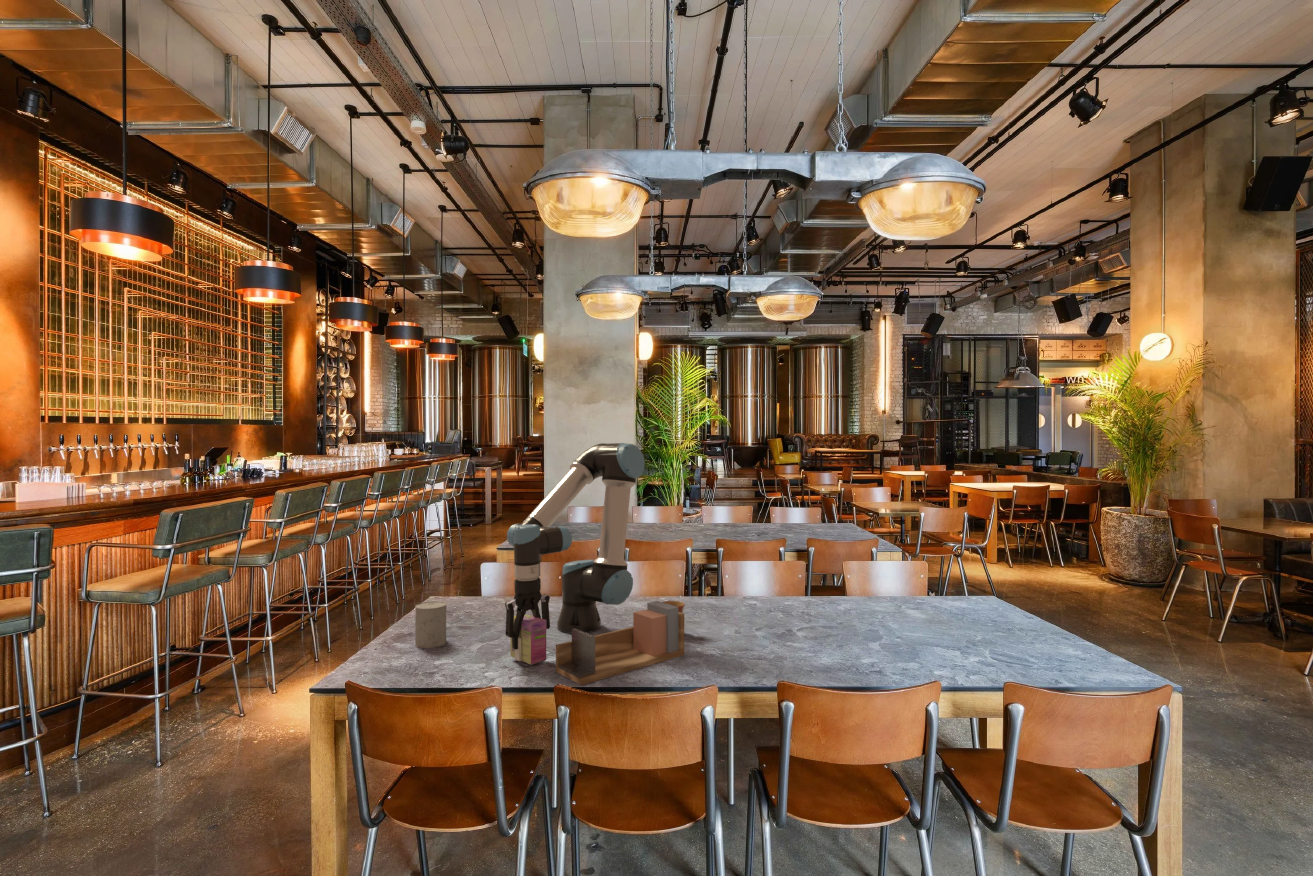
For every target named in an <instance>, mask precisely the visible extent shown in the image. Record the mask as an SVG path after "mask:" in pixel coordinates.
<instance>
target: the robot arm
mask: <svg viewBox="0 0 1313 876" xmlns="http://www.w3.org/2000/svg"><path fill="white" fill-rule="evenodd" d="M644 471H645V457H644V454H643V452H642V451H641V449H640V448H639V447H638V446H637V445H635V444H634V443H633V444H632V443H626V442H619V443H617V442H614V443H598V444H594V445H593V446H591V447H589V448H588V449H586V450H585V451H583V452H582V453H581V454H580V455H578V457H576V458H575V460H573V462H572V463H571V464H570V466H569V470H568V471H567V473H565V475H564V476H563V477H562V478H561V479H560V480H559V481H558V483H557V484H556V485H555V486H554V487H553V488H552V489H551V490H550V492H548V494H547V495H546V496H545V497H544V498H542V500H541V501H540V503H539V504H538V505H536V506H535V508H534V509H533V510H532V511H531V513H530V514H528V516H527V517H526V518H525V519H524V520H523V521H522V523H519V522H518V523H514V524H512V525H511V526H510V527H509V528H508V530H507V533H506V539H507V542H508V544H509V545H510V546H512V547H513V559H514V560H513V562H514V563H513V564H514V566H513V568H514V572H513V573H514V575H513V576H514V578H515V580H513V581H514V582H513V583H514V585H513V586H514V597H513V599H512V600H510V601H505V602H504V606H505V610H506V614H505V615H506V616H505V631H504V632H505V633H504V634H505V636H506V637H508V638H509V639H510V638H512V648H513V649H515V658H514V659H515V660H516V661H518V662H523V661H522V656H521V638H520V637H519V634H520V630H521V626H522V621H523V618H524V615H525V614H527V612H528V611H531V613H532V614H531V615H532V616H534V617H536V618H541V619H544V620H546V630H549V629H550V628H551V622H550V621H551V619H550V607H549V603H550V598H551V597H550V595H547V594H545V593H544V594H542V593H541V589H542V588H541V587H542V585H541V578H540V577H541V556H544V555H549V554H555V553H562V552H563V551H567V550H568V549H570V547H571V545H572V542H573V536H572V532H571V530H570V529H569V528H568V527H567V526H555V527H551V526H552V525H553V523H554V522H555V521H556V520H557V519H558V518H559V516H560V515H561V514H562V513H563V512H564V511H565V510H566V508H567V507H568V506H569V505H570V504H571V502H572V501H573V500H574V499H575V498H577V496H578V495H579V493H581V491H582V490H583V489H584V488H585V486H587V485H591V484H592V483H593V482H594V480H595V479H598V478H600V477H602V478H601V481H602V483H603V484H604V485H605V491H604V501H603V511H602V519H601V530H600V538H599V547H598V548H599V550H598V556H597V558H595V559H583V560H581V559H580V560H573V561H569V562H566V563H564V564H563V566H562V574H561V583H562V584H561V588H562V589H561V590H562V591H561V592H562V594H561V597H562V600H561V601H562V605H561V609H560V612H559V615H558V618H557V622H556V623H557V624H556V629H557V630H558V631H560V632H563V633H567V634H572V629H574V628H576V629H578V630H581V631H583V632H586V633H592V632H595V631H596V632H597V631H598V630H599V629H601V626H602V619H601V616H600V613H599V610H598V607H597V602H598V603H601V604H602V603H603V604H605V605H612V606H618V605H621V604H623V603H624V602H625V601H626V600H627V599H628V598H629V596H630V595H631V593H632V590H633V588H634V587H633V586H634V578H633V576H632V573H631V572H630V571H629V570H628V563H627V561H626V560H625V549H626V539H627V529H628V519H629V518H628V517H629V507H630V498H631V490H632V487H634V486H635V485H636V482H637V478H639V477H641V476H642V474H643V473H644ZM539 602H540V608H539ZM515 605H516V606H515ZM516 607H517V608H516ZM515 608H516V614H515ZM540 610H541V613H540ZM514 616H516V618H515V622H514Z"/></svg>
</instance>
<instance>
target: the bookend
mask: <svg viewBox="0 0 1313 876" xmlns="http://www.w3.org/2000/svg"><path fill="white" fill-rule="evenodd" d="M571 641H572V662H569V663H565V664H561V665H559V668H560V669H562V670H564V671H566V672H568V673H570V674H572V675H574V676H576V677H578V678H581V677H585V676H588V675H592V674H595V635H593V634H590V633H589V632H587V633H586V632H583V631H581V630H578V629H576V628H574V629H572V633H571Z"/></svg>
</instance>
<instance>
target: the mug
mask: <svg viewBox="0 0 1313 876" xmlns="http://www.w3.org/2000/svg"><path fill="white" fill-rule="evenodd" d="M662 602H663V603H666V604H669V605H673V606H676V607H678V612H681V613H684V608H685V605H686V604H685V603H684V602H683V601H679V600H665V601H662Z"/></svg>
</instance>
